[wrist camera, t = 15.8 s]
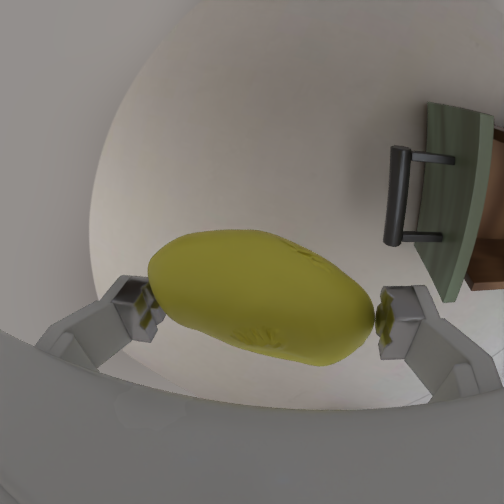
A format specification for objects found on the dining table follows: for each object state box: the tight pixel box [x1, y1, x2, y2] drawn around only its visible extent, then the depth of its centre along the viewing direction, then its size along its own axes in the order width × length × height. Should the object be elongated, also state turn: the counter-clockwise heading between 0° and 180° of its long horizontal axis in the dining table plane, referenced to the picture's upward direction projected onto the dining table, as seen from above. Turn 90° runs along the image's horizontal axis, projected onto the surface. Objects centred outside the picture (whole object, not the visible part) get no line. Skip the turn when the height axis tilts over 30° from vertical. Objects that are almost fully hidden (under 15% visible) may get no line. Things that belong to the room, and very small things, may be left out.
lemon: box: [148, 230, 375, 366], centre depth 9 cm, size 4×8×4 cm, turn 72°
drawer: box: [383, 102, 504, 303], centre depth 16 cm, size 20×14×8 cm
